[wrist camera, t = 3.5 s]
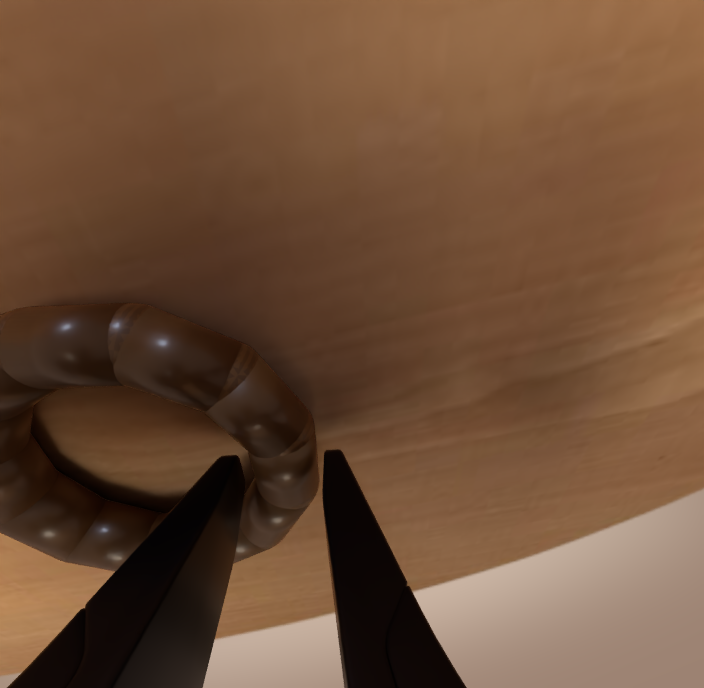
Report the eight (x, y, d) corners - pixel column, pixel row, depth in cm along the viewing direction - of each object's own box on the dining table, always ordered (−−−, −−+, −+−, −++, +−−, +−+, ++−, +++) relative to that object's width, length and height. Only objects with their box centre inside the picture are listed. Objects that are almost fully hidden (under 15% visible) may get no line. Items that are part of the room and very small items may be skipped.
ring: (303, 284, 7) (297, 318, 6) (326, 522, 11) (326, 574, 10) (-122, 300, 7) (-237, 340, 5) (68, 538, 11) (31, 594, 10)
